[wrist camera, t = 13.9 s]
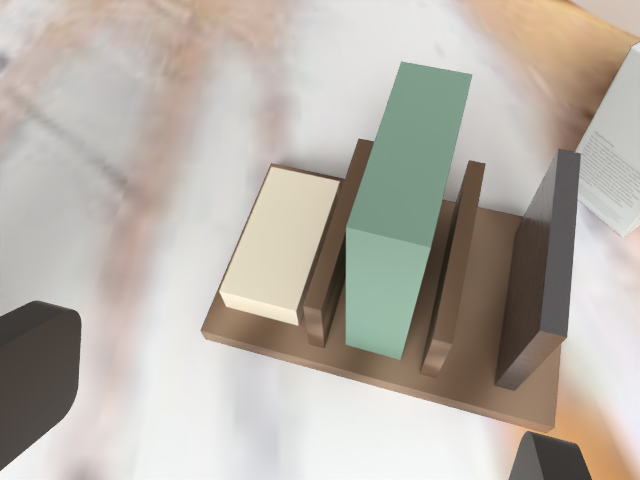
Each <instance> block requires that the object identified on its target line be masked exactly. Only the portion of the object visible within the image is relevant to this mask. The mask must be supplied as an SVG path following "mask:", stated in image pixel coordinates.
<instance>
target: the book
mask: <svg viewBox="0 0 640 480" xmlns="http://www.w3.org/2000/svg"><path fill="white" fill-rule="evenodd" d="M471 78H472V74H467V73H461V72H456V71H450V70H445V69H439V68H434V67H428V66H423V65H417V64H412V63H406V62H401V64H400V67H399V70H398V73H397V76H396V79H395V82H394V85H393V88H392V91H391V94H390V97H389V100H388V103H387V106H386V109H385V112H384V115H383V118H382V121H381V124H380V127H379V130H378V133H377V136H376V139H375V142H374V145H373V148H372V151H371V154H370V157H369V160H368V163H367V166H366V169H365V172H364V175H363V178H362V181H361V184H360V187H359V190H358V193H357V196H356V199H355V202H354V205H353V208H352V211H351V214H350V217H349V220H348V223H347V226H346V345H349V346H352V347H356V348H359V349H363V350H366V351H370V352H373V353H377V354H381V355H384V356H388V357H391V358H395V359H398V360H401V356H402V353H403V349H404V345H405V341H406V338H407V334H408V330H409V327H410V323H411V319H412V316H413V312H414V308H415V304H416V301H417V297H418V293H419V290H420V286H421V282H422V279H423V275H424V271H425V267H426V264H427V260H428V256H429V253H430V249H431V245H432V241H433V237H434V232H435V228H436V224H437V220H438V216H439V212H440V207H441V203H442V199H443V195H444V191H445V187H446V182H447V178H448V174H449V170H450V166H451V162H452V157H453V153H454V149H455V145H456V141H457V137H458V132H459V128H460V124H461V120H462V116H463V112H464V107H465V103H466V99H467V95H468V91H469V87H470V82H471Z"/></svg>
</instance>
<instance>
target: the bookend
mask: <svg viewBox="0 0 640 480" xmlns="http://www.w3.org/2000/svg"><path fill="white" fill-rule="evenodd" d="M580 160H581V153H577V152H572V151H566V150H561V149H558V151H557V153H556V155H555V156H554V158H553V160H552V162H551V164H550V166H549V168H548V170H547V172H546V174H545V176H544V178H543V180H542V182H541V184H540V186H539V188H538V190H537V192H536V194H535V196H534V197H533V199H532V201H531V203H530V205H529V207H528V209H527V211H526V213H525V215H524V217H523V219H522V221H521V223H520V225H519V227H518V229H517V231H516V233H515V238H514V245H513V253H512V260H511V267H510V274H509V282H508V289H507V296H506V304H505V311H504V318H503V325H502V333H501V340H500V347H499V354H498V362H497V369H496V376H495V383H494V386H497V387H501V388H505V389H508V390H512V391H515V390H516V389H517V388H518V387H519V386H520V385H521V384H522V383H523V382H524V381H525V380H526V379H527V378H528V377H529V376H530V375H531V374H532V373H533V372H534V371H535V370H536V369H537V368H538V367H539V366H540V365H541V364H542V363H543V362H544V361H545V359H546V358H547V357H548V356H549V355H550V354H551V353H552V352H553V351H554V350H555V349H556V348H557V347H558V346H559V345H560V344H561V343H562V342H563V341H564V340H565V339H566V338H567V331H568V318H569V305H570V292H571V278H572V265H573V252H574V239H575V226H576V213H577V199H578V186H579V173H580Z"/></svg>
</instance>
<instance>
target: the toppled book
mask: <svg viewBox="0 0 640 480" xmlns="http://www.w3.org/2000/svg"><path fill="white" fill-rule="evenodd" d="M339 196H340V181H336V180H332V179H327V178H322V177H317V176H313V175H308V174H303V173H299V172H294V171H289V170H285V169H280V168H275V167H271V169H270V171H269V174H268V176H267V178H266V181H265V183H264V185H263V188H262V190H261V193H260V195H259V197H258V200H257V202H256V205H255V207H254V209H253V212H252V214H251V216H250V219H249V221H248V224H247V226H246V228H245V231H244V233H243V235H242V238H241V240H240V243H239V245H238V247H237V250H236V252H235V255H234V257H233V259H232V262H231V264H230V266H229V269H228V271H227V274H226V276H225V278H224V281H223V283H222V285H221V288H220V290H219V292H220V294H221V296H222V299H223V301H224V303H225V305H226V307H229V308H233V309H237V310H240V311H244V312H248V313H252V314H256V315H259V316H263V317H267V318H271V319H275V320H278V321H282V322H286V323H290V324H294V325H297V326H299V324H300V321H301V318H302V315H303V312H304V309H303V304H304V301H305V298H306V295H307V292H308V289H309V286H310V283H311V280H312V277H313V274H314V271H315V268H316V265H317V262H318V259H319V256H320V253H321V250H322V247H323V244H324V241H325V238H326V235H327V232H328V229H329V226H330V223H331V220H332V217H333V214H334V211H335V208H336V205H337V202H338V199H339Z"/></svg>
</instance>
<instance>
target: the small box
mask: <svg viewBox="0 0 640 480" xmlns="http://www.w3.org/2000/svg"><path fill="white" fill-rule="evenodd" d="M575 152H577V153H581V160H580V173H579V186H578V199H577V200H579V201H580V202H581V203H582V204H583V205H585V206H586V207H587V208H588V209H589V210H590V211H592V212H593V213H594V214H595V215H596V216H597V217H598V218H600V219H601V220H602V221H603V222H604V223H605V224H607V225H608V226H609V227H610V228H612V229H613V230H614V231H615V232H616V233H617V234H619V235H620V236H621V237H625V236H627V235H628V234H629V233H631V232H632V231H633V230H635V229H636V228H638V227H639V226H640V41H639V42H638V43H636V44H635V45H633V46H631V48H630V50H629V52H628V54H627V56H626V58H625V60H624V62H623V63H622V65H621V67H620V69H619V71H618V73H617V74H616V76H615V78H614V80H613V82H612V84H611V86H610V87H609V89H608V91H607V93H606V95H605V97H604V99H603V100H602V102H601V104H600V106H599V108H598V110H597V111H596V113H595V115H594V117H593V119H592V121H591V123H590V124H589V126H588V128H587V130H586V132H585V134H584V135H583V137H582V139H581V141H580V143H579V145H578V147H577V148H576V150H575Z"/></svg>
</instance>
